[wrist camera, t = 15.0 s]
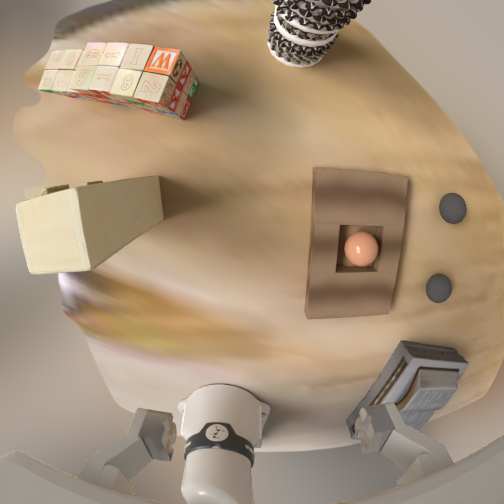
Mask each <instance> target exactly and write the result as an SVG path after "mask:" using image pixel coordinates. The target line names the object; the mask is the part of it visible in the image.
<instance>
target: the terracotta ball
mask: <svg viewBox="0 0 504 504" xmlns="http://www.w3.org/2000/svg"><path fill="white" fill-rule="evenodd" d="M344 250H345V255H346V257H347V259H348V260H349V261H350V262H351V263H352V264H354V265H356V266H361V267H363V266H367V265H369V264H371V263H372V262H373V261H374V260H375V259H376V257H377V254H378V244H377V241H376V239H375V238H374V237H373V236H372V235H371V234H369V233H367V232H363V231H360V232H356V233H353V234H352V235H351V236H349V238H348V239H347V241H346V243H345V248H344Z"/></svg>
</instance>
